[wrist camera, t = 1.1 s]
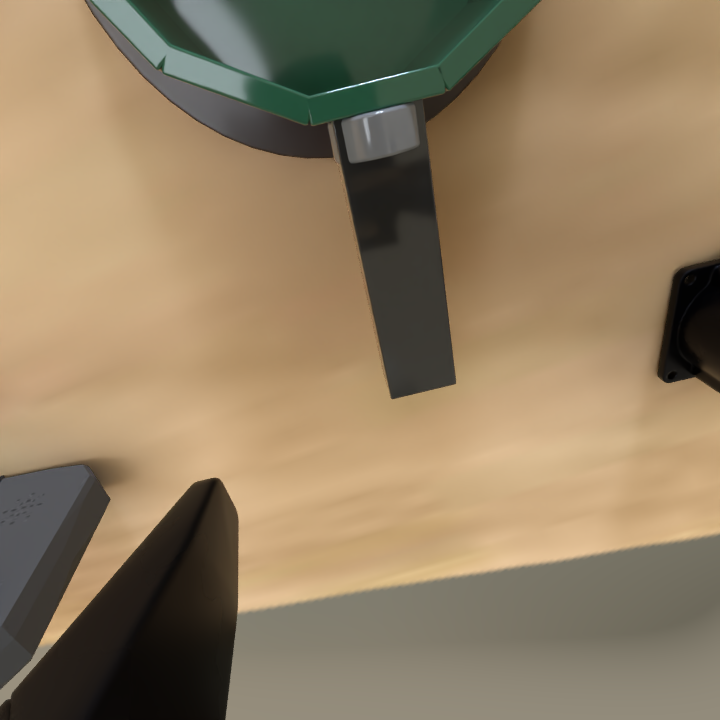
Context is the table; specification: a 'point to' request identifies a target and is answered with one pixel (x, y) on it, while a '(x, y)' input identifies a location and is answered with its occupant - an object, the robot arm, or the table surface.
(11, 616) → the handheld gaming console
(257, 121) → the dark round saucer
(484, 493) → the table surface
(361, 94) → the pot
